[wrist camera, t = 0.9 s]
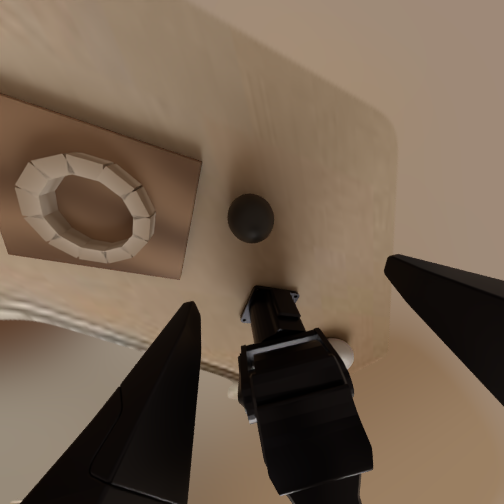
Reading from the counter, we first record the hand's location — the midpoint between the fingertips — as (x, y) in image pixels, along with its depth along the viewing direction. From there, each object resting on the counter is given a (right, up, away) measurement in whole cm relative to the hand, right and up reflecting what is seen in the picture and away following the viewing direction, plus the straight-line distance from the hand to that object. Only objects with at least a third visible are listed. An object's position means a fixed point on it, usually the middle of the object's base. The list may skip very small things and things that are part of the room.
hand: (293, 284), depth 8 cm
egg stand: (-15, +5, +8) cm, 17 cm away
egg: (-2, +6, +10) cm, 12 cm away
